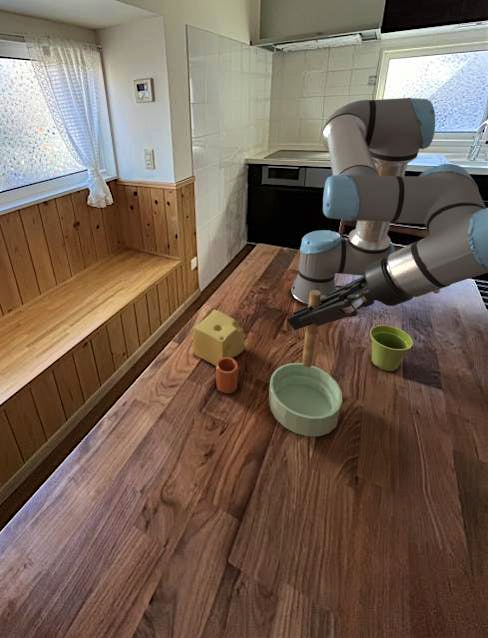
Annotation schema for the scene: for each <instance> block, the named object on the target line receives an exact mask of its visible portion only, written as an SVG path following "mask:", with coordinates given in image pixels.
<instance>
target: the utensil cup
mask: <svg viewBox="0 0 488 638" xmlns="http://www.w3.org/2000/svg"><path fill="white" fill-rule="evenodd" d="M215 384H216V388H217V389H218V391H219V392H221V393H224V394H231V393H234V392H236V390H237V389H238V385H239V364H238V362H237V360H235V358H234V357H233V358H230V357H223V358H220V359H219V360H218V361H217V363H216V366H215Z"/></svg>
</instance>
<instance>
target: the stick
mask: <svg viewBox="0 0 488 638" xmlns="http://www.w3.org/2000/svg"><path fill="white" fill-rule="evenodd" d="M320 296H321V293H320V292H319V291H317V290H311V291H310V295H309V304H308V307H309V306H312V307H313V309H314V308H316V307H318V306H319V304H320ZM317 327H318V326H316V325H315V324H314V323H313V324H310V325H308V326H305V332H304V340H303V348H302V349H303V350H302V358H301V359H302V360H301V361H302V362H301V363H302V364H303V366H305V367H311V366H313V359H314V351H315V343H316V335H317V329H318V328H317Z"/></svg>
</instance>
